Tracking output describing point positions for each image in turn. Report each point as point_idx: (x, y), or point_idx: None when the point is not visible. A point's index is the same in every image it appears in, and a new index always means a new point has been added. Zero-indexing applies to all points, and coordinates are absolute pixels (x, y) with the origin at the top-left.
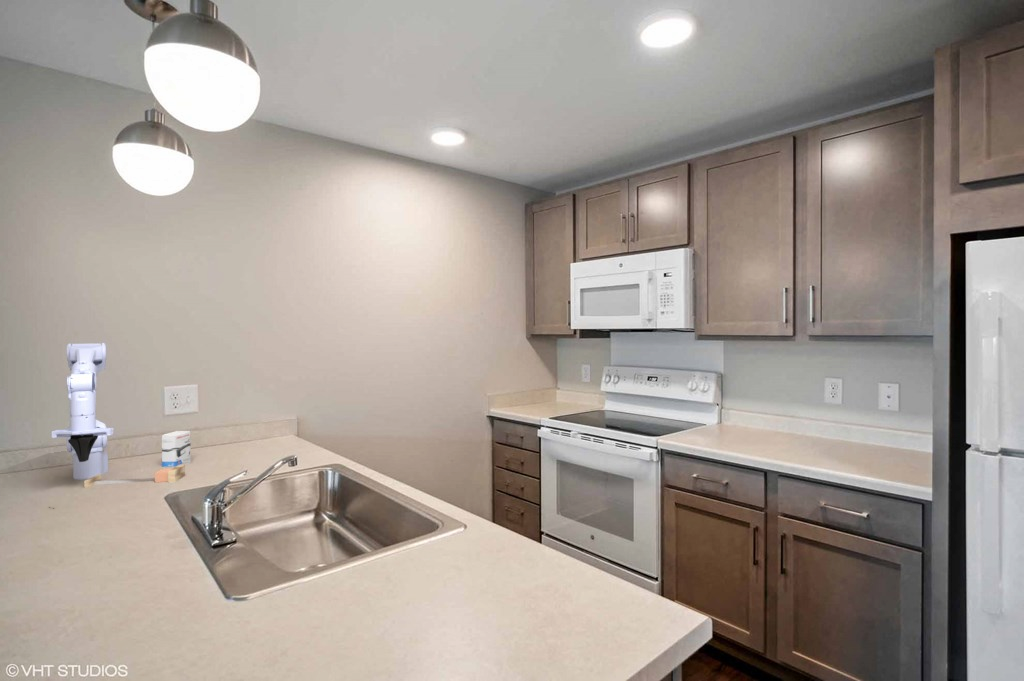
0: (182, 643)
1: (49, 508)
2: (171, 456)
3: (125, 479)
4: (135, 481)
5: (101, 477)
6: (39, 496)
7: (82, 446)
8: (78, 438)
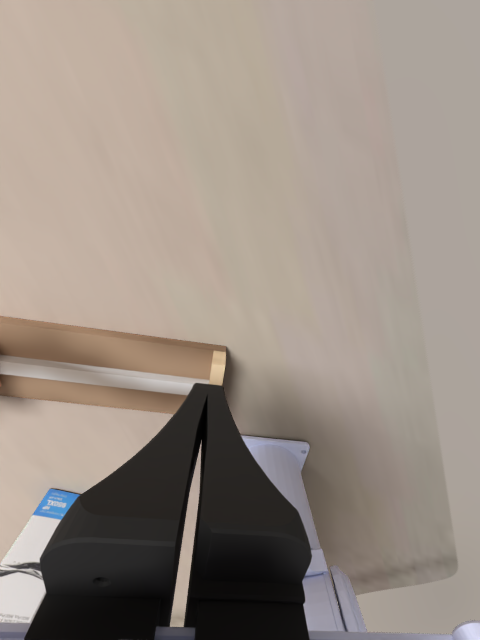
0: None
1: (266, 148)
2: (32, 537)
3: (109, 382)
4: (73, 365)
5: None
6: (344, 335)
7: (171, 455)
8: (212, 580)
